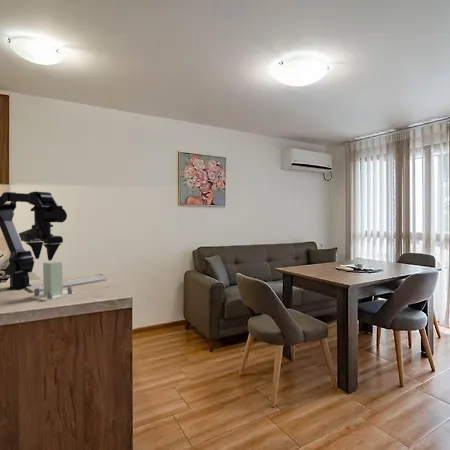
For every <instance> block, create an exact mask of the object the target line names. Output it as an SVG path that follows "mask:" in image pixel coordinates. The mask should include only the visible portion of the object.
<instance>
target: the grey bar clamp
mask: <svg viewBox="0 0 450 450" xmlns="http://www.w3.org/2000/svg"><path fill="white" fill-rule="evenodd" d="M101 276H102V277H101ZM100 281H101V282H104V281H107V277H103V274H99V275H94V276H90V277H82V278H76V279H69V280H62V283H63V287H64V288H68V287H75V286H80V285H81V286H82V285H87V284H93V283H94V284H95V283H99V282H100ZM36 288H39V293H40V292H44V283H43V284H36V285H31V286H29V287H26V288H25V290H27V289H28V290H27V291H29V292H30V293H32V294H33V293H34V289H36Z"/></svg>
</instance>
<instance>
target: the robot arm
mask: <svg viewBox="0 0 450 450" xmlns="http://www.w3.org/2000/svg"><path fill="white" fill-rule="evenodd" d="M7 202H10V203H7ZM17 202H19V203H28V204H29V205H33V207H32V208H31V209H30V212H34V215H33V216H34V219H33V220H34V224H32V225H31V228H29V229H27V230H23V231H21V232H19V233H18V232H17V230H16V229H17V228H16V227H15V224H14V222H13V218H14V215H15V213H14V211H15V210H16V208H17ZM63 207H64V206H63V205H58V203H57V201H56V200H55V199H54V197H53V195H52V193H51V192H48V191H46V192H45V191H30V192H29V193H20V192H19V193H18V192H13V191H12V192H11V191H5V192H3V193H2V194H1V195H0V230H1V233H2V235H3V237H4V240H5V243H6V245H7V247H8V250H9V252H10V253H9V257H8V263H9V264H8V265H7V266H6V267H5V269H4V273H5V275H6V276H9V286H8V287H7V288H6V289H7V290H23V289H26V287H29V286H32V284H30V276H29V273H33V269H34V265H35V259H36V260H39V258H40V256H41V254H42V253H41V252H42V249H43V246H44V248H46V255H47V260H48V261H50V262H52V260H53V258H54V256H55V254H56V252H57V251H58V249H59V247H60V246H61V245H62V244H63V243H64V237H62V236H61V235H54V234H52V229H51V228H54V224H52V223H64V222H65V221H66V220H67V217H68V214H67V212H66V210H65V209H64V208H63ZM22 242H24V243H25V244H26V245H28V246H30V248H31V250H32V251H31V250H26V249H25V248H24V247H23V244H22ZM32 253H33V254H32ZM33 255H34V257H33Z"/></svg>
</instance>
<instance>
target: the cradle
mask: <svg viewBox="0 0 450 450" xmlns="http://www.w3.org/2000/svg"><path fill="white" fill-rule="evenodd" d="M76 294H77V293H76V292H75V291H73V286H70V287H67V290H65V289H63V294H60V295H56V296H52V291H48V292H47V295H44V292H43V293H40V292H39V288H36V289H34V295H30V298H31V299H35V300H40V301H43V302H48V301H53V300H56V299H60V298H65V297H68V296H72V295H76Z"/></svg>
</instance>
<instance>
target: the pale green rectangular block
mask: <svg viewBox="0 0 450 450" xmlns="http://www.w3.org/2000/svg"><path fill="white" fill-rule="evenodd" d="M42 266H43V267H42V268H43V269H42V270H43V271H42V272H43V273H42V274H43V277H42V278H43V284H44V291H43V293H44V295H47V292H48V291H52V296H56V295H60V294H63V290H64V289H63V283H62V281H63V261H61V262H60V261H54V260H53V261H50V262H48V261H47V262H43V263H42Z"/></svg>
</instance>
